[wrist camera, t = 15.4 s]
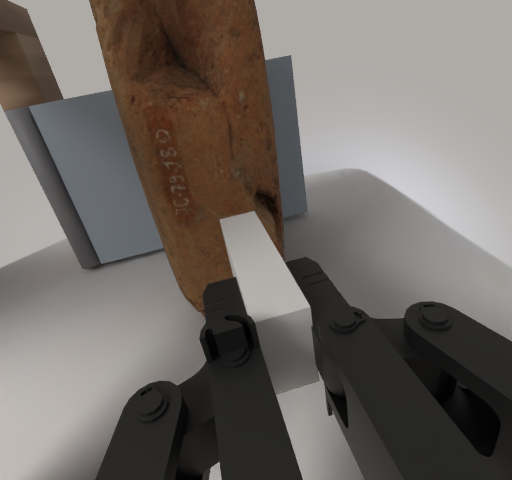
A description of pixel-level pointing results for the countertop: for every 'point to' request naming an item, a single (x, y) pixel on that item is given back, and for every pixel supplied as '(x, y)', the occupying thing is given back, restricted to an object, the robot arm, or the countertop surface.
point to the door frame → (23, 62)
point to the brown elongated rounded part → (195, 123)
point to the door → (127, 168)
